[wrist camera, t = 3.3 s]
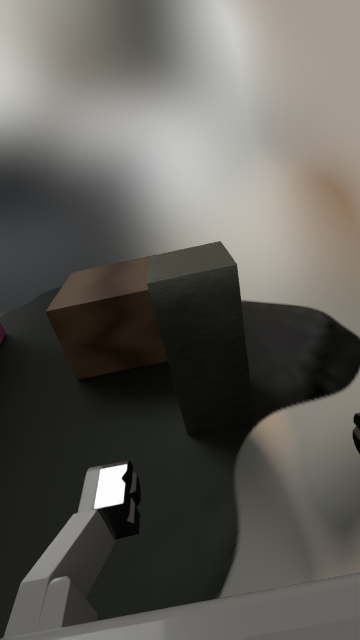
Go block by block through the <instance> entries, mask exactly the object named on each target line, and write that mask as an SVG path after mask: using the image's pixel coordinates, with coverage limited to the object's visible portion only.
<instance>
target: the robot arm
mask: <svg viewBox="0 0 360 640" xmlns="http://www.w3.org/2000/svg"><path fill="white" fill-rule="evenodd" d="M354 423H355V424H356V427H355V428H354V430H353V440H354V444H355V446H356V448H357V450H358V452H359V454H360V413H357V414H355V416H354ZM140 502H141V490H140V483H139V479H138V476H137V474H135V473H133V465H132V463H131V461H125V462H119V463H113V464H108V465H102V466H97V467H92V468H89V469H88V471H87V473H86V477H85V482H84V486H83V491H82V496H81V500H80V505H79V509H78V513H76V514H73V516H72V517H71V518H70V520H69V521H68V522H67V523H66V525H65V526H64V527H63V529H62V530H61V531H60V533H59V534H58V535H57V537H56V538H55V539H54V540H53V542H52V543H51V544H50V546H49V547H48V548H47V550H46V551H45V552H44V554H43V555H42V556H41V557H40V559H39V560H38V561H37V563H36V564H35V565H34V567H33V568H32V569H31V571H30V572H29V573H28V574H27V576H26V577H25V578H24V580H23V581H22V582H21V584H20V587H19V590H18V594H17V597H16V600H15V603H14V606H13V609H12V612H11V616H10V619H9V622H8V625H7V628H6V631H5V635H4V638H2V639H0V640H360V573H355V574H350V575H345V576H340V577H334V578H328V579H323V580H318V581H312V582H307V583H301V584H295V585H290V586H285V587H279V588H274V589H269V590H263V591H257V592H252V593H246V594H241V595H236V596H230V597H225V598H219V599H214V600H208V601H203V602H198V603H192V604H187V605H181V606H176V607H170V608H165V609H160V610H154V611H149V612H143V613H138V614H132V615H127V616H122V617H116V618H111V619H105V620H100V621H97V617H98V615H97V613H96V612H95V610H94V609H93V608H92V606H91V605H90V604H89V603H88V601H87V600H86V597H87V595H88V593H89V591H90V589H91V587H92V585H93V583H94V582H95V580H96V578H97V576H98V574H99V572H100V570H101V568H102V566H103V564H104V562H105V560H106V559H107V557H108V555H109V553H110V551H111V549H112V547H113V545H114V543H115V539H120V538H124V537H129V536H133V535H138V534H139V525H140V513H139V511H138V509H137V506H138V505H139V503H140Z"/></svg>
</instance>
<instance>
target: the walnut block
mask: <svg viewBox="0 0 360 640" xmlns="http://www.w3.org/2000/svg"><path fill="white" fill-rule="evenodd" d="M152 256H154V255H152ZM149 257H150V256H148V257H143V258H138V259H134V260H129V261H124V262H120V263H115V264H111V265H106V266H101V267H97V268H92V269H88V270H83V271H78V272H73V273H72V274H71V275H70V276H69V278H68V279H67V281H66V282H65V284H64V285H63V287H62V288H61V290H60V291H59V293H58V294H57V295H56V297H55V298H54V300H53V301H52V303H51V304H50V306H49V307H48V309H47V310H46V313H47V315H48V318H49V320H50V322H51V324H52V326H53V329H54V331H55V333H56V335H57V337H58V340H59V342H60V344H61V346H62V348H63V351H64V353H65V355H66V357H67V359H68V362H69V364H70V366H71V368H72V370H73V373H74V375H75V377H76V379H77V380H78V379H83V378H88V377H93V376H98V375H102V374H107V373H112V372H117V371H122V370H127V369H132V368H137V367H142V366H147V365H152V364H156V363H161V362H166V361H168V360H167V357H166V353H165V349H164V345H163V342H162V338H161V334H160V331H159V327H158V323H157V319H156V316H155V312H154V308H153V304H152V301H151V297H150V293H149V290H148V286H147V275H148V261H149Z"/></svg>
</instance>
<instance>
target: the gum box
mask: <svg viewBox="0 0 360 640" xmlns="http://www.w3.org/2000/svg"><path fill="white" fill-rule="evenodd" d="M5 335H6V332H5V331H4V329H3V327H2V325H1V323H0V344H1V342H2V340H3V338H4V336H5Z"/></svg>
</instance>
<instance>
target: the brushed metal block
mask: <svg viewBox="0 0 360 640" xmlns="http://www.w3.org/2000/svg"><path fill="white" fill-rule="evenodd" d="M147 286H148V290H149V293H150V297H151V301H152V304H153V308H154V312H155V316H156V319H157V323H158V327H159V331H160V334H161V338H162V342H163V345H164V349H165V353H166V357H167V360H168V364H169V368H170V371H171V375H172V379H173V383H174V386H175V390H176V394H177V398H178V401H179V405H180V409H181V412H182V416H183V420H184V424H185V427H186V431H187V434H192V433H197V432H203V431H208V430H213V429H218V428H223V427H228V426H233V425H239V424H244V423H249V422H254V421H255V414H254V405H253V397H252V388H251V380H250V371H249V363H248V354H247V346H246V337H245V329H244V320H243V312H242V303H241V296H240V287H239V278H238V270H237V264H236V262H235V261H234V260H233V258H232V257H231V255H230V254H229V252H228V251H227V250H226V248H225V247H224V245H223V244H222V243H221V242H220V241H219V242H215V243H210V244H205V245H201V246H196V247H191V248H187V249H182V250H177V251H173V252H168V253H163V254H159V255H154V256H150V257H149V261H148V275H147Z"/></svg>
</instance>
